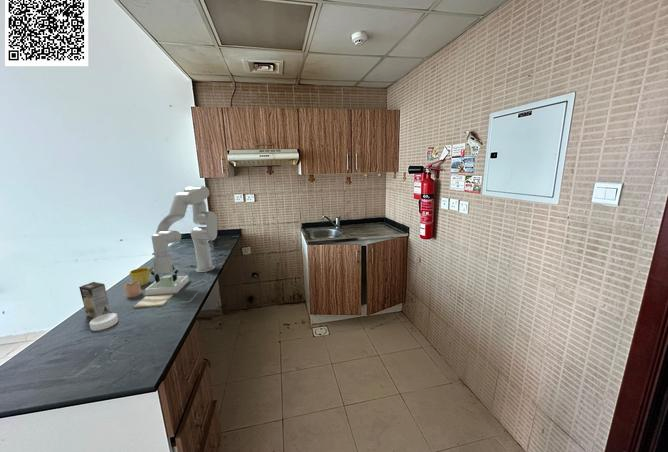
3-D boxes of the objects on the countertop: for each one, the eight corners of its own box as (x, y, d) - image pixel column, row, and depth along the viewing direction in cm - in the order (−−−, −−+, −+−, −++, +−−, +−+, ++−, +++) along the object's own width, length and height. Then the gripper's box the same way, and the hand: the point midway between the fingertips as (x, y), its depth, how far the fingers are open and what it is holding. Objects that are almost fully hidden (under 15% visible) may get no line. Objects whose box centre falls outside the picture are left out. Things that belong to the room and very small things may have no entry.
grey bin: (161, 284, 168) (159, 277, 167) (189, 282, 170) (188, 275, 169) (145, 296, 151) (144, 289, 151) (177, 294, 153) (175, 286, 152)
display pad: (146, 297, 150) (145, 296, 150) (174, 295, 152) (173, 293, 152) (133, 308, 138) (132, 306, 138) (163, 305, 140) (163, 304, 140)
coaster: (109, 329, 120) (107, 322, 120) (85, 332, 119) (83, 325, 118) (122, 317, 130) (121, 311, 129) (100, 320, 128) (98, 314, 128)
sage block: (166, 286, 163) (164, 275, 161) (174, 285, 163) (172, 275, 162) (162, 290, 158) (160, 279, 156) (170, 289, 158) (168, 278, 157)
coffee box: (85, 316, 132) (78, 286, 129) (100, 310, 138) (93, 281, 135) (97, 319, 129) (90, 288, 126) (112, 312, 135) (105, 283, 132)
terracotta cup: (131, 293, 156) (129, 281, 154) (144, 292, 157) (141, 280, 155) (124, 299, 149) (121, 286, 148) (137, 298, 150) (134, 285, 148)
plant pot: (156, 281, 174) (153, 267, 171) (143, 288, 163) (140, 273, 161) (141, 281, 175) (138, 267, 173) (128, 288, 165) (125, 273, 162)
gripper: (142, 257, 151) (147, 284, 154) (174, 254, 153) (178, 282, 156) (150, 253, 159) (154, 279, 162) (180, 251, 160) (184, 277, 164)
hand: (166, 281), depth 159 cm, fingers open, 9 cm apart
